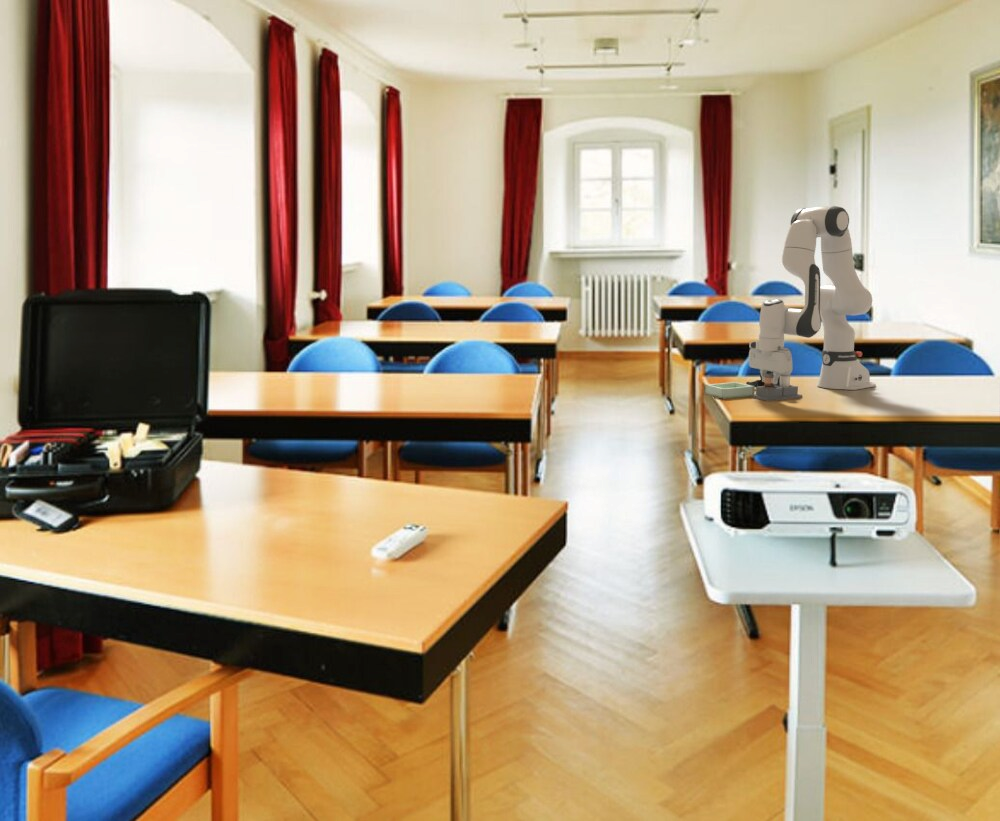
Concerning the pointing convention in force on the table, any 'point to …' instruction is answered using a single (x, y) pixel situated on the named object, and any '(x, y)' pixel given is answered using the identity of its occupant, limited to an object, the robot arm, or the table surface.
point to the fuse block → (776, 393)
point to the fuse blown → (769, 381)
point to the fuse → (784, 380)
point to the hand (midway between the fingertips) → (769, 383)
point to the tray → (729, 390)
